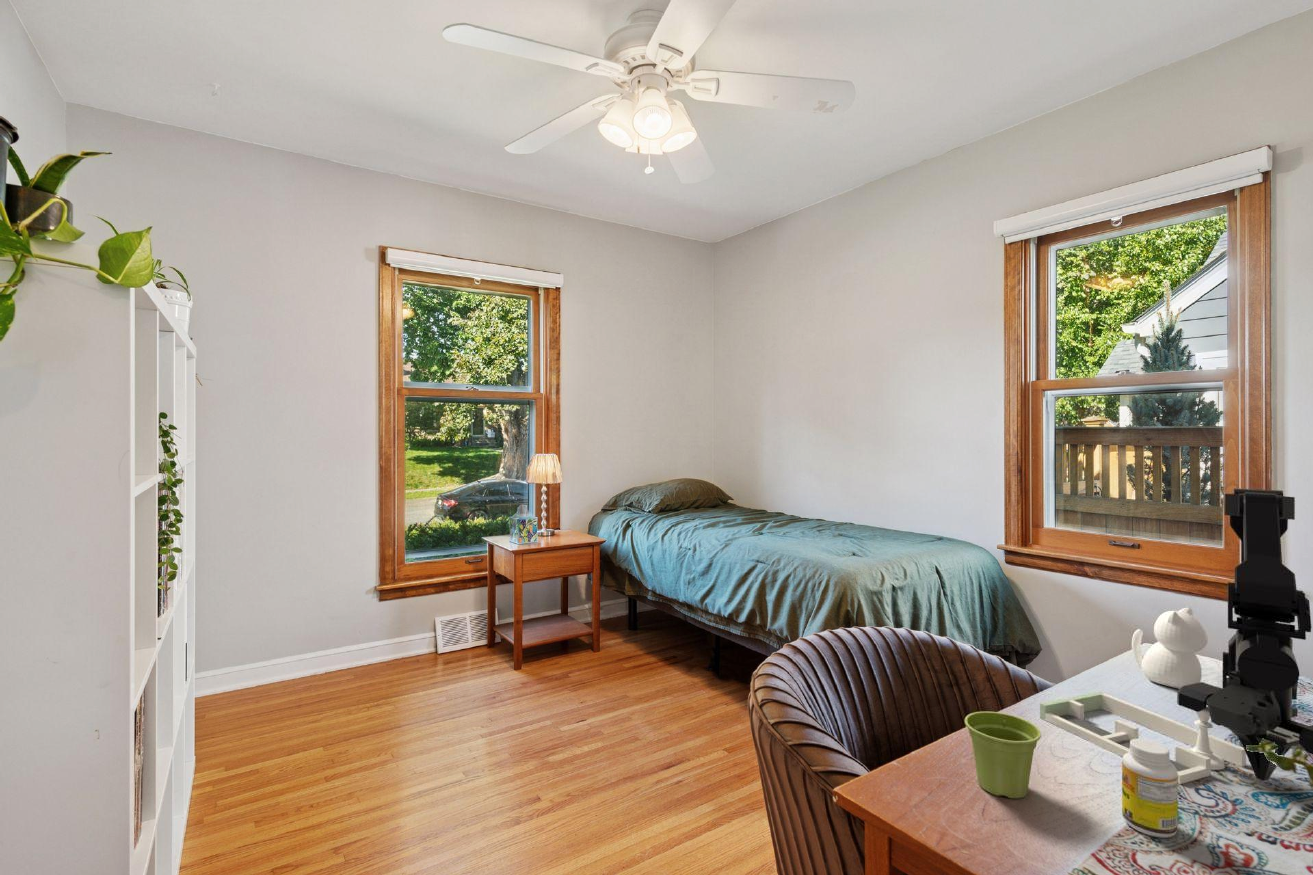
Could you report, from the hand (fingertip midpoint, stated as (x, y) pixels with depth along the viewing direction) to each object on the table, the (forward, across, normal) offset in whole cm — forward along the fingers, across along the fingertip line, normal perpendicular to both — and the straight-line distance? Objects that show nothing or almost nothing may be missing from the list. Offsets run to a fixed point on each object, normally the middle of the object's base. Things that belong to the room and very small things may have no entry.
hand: (1262, 779), depth 90 cm
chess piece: (+1, -7, 0) cm, 7 cm away
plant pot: (+1, -12, -34) cm, 36 cm away
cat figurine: (+1, -29, +27) cm, 40 cm away
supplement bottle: (+1, +1, -24) cm, 24 cm away
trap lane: (+1, -15, -3) cm, 16 cm away
